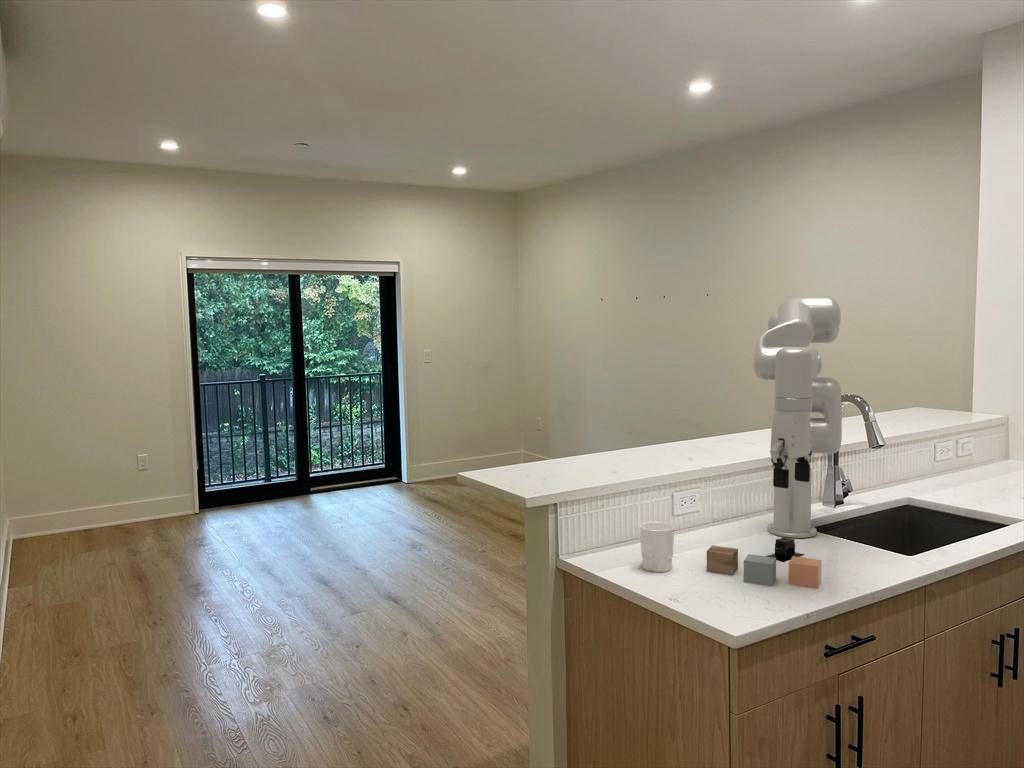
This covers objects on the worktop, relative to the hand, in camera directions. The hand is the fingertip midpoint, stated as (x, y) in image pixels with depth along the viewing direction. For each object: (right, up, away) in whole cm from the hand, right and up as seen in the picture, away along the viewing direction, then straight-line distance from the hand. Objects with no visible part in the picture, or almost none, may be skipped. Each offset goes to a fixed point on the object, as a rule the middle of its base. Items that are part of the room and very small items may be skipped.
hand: (791, 484), depth 160 cm
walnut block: (-12, -22, +11) cm, 27 cm away
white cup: (-27, -22, +14) cm, 37 cm away
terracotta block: (+4, -22, +2) cm, 23 cm away
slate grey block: (-6, -22, +4) cm, 23 cm away
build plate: (+6, -21, +22) cm, 31 cm away
